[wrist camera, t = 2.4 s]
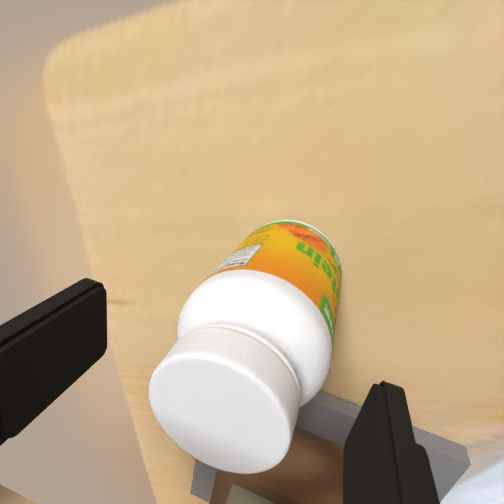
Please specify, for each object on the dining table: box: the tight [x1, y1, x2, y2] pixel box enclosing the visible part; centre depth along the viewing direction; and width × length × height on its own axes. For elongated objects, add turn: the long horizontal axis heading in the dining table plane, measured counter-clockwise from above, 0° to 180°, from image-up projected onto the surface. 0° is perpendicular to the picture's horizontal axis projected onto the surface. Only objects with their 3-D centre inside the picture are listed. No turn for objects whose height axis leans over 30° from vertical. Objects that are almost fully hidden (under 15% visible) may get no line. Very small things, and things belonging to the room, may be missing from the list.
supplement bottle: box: [149, 220, 341, 474], centre depth 12 cm, size 5×5×10 cm
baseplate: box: [191, 391, 471, 503], centre depth 21 cm, size 15×15×1 cm
